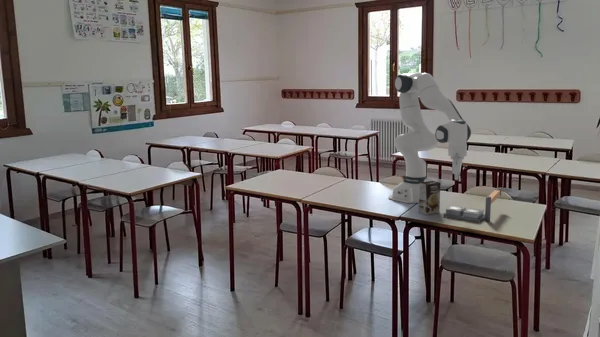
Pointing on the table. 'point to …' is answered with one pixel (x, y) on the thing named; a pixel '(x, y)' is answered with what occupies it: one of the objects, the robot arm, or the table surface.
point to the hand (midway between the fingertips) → (456, 179)
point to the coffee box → (429, 197)
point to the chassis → (464, 213)
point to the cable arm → (490, 200)
